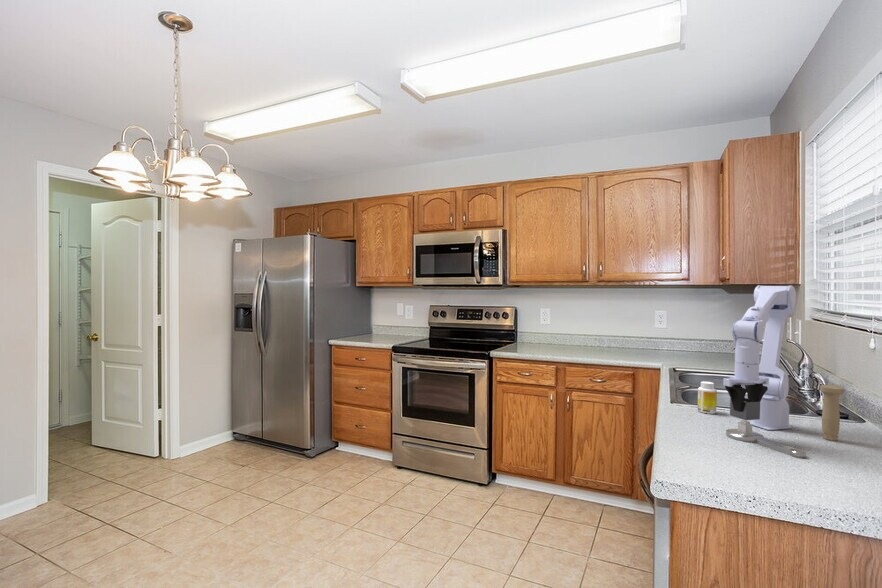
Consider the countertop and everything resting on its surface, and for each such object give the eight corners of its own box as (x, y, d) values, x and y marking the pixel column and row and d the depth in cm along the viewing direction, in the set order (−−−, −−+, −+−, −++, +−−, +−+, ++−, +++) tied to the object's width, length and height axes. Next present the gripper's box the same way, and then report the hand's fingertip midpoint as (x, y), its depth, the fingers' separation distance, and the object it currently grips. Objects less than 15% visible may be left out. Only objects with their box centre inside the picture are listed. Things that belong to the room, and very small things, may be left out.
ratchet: (742, 431, 133) (742, 415, 133) (817, 456, 113) (818, 438, 113) (718, 433, 130) (718, 417, 130) (791, 459, 110) (791, 441, 110)
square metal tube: (743, 414, 130) (743, 397, 130) (759, 419, 126) (760, 401, 126) (729, 415, 129) (730, 398, 129) (746, 420, 124) (746, 402, 124)
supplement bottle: (720, 413, 152) (720, 383, 152) (708, 415, 150) (709, 384, 150) (705, 409, 157) (706, 380, 157) (693, 410, 155) (694, 381, 155)
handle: (843, 439, 127) (845, 387, 127) (839, 444, 123) (840, 390, 123) (821, 435, 131) (823, 384, 131) (816, 439, 127) (818, 386, 126)
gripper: (740, 365, 121) (738, 415, 121) (780, 364, 125) (778, 412, 125) (717, 361, 128) (716, 408, 128) (756, 360, 132) (754, 406, 132)
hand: (745, 410), depth 127 cm, fingers closed on square metal tube, 5 cm apart
